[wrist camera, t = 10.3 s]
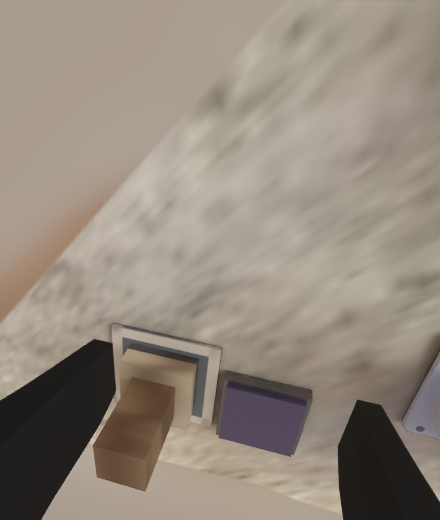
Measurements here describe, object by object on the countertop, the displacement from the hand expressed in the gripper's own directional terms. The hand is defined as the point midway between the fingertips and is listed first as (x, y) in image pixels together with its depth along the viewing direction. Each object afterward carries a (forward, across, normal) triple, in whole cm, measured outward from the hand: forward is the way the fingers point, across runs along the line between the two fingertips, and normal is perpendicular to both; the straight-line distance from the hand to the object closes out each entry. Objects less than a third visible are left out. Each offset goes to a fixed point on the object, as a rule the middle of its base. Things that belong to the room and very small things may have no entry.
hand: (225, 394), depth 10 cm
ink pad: (+10, -2, +13) cm, 17 cm away
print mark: (+10, +6, +12) cm, 17 cm away
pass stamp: (+10, +6, +11) cm, 16 cm away
